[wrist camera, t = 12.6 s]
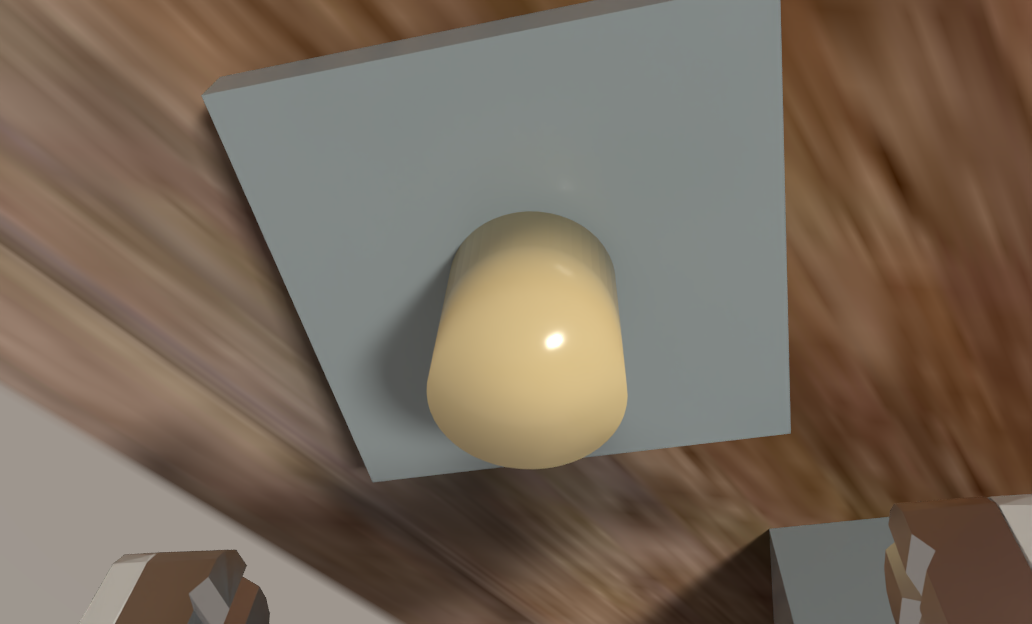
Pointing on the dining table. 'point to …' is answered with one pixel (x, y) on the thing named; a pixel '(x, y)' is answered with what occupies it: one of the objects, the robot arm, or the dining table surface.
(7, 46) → the dining table surface
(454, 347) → the block with cream knob
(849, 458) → the dining table surface
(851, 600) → the grey open box
